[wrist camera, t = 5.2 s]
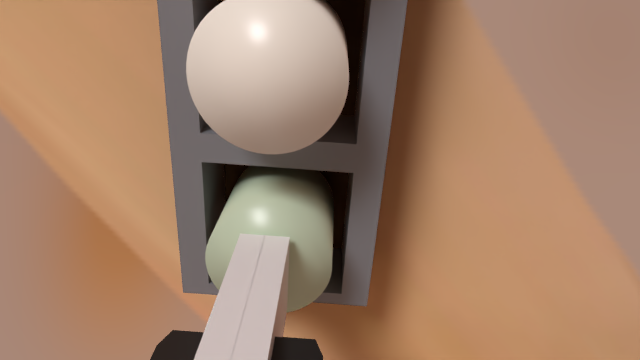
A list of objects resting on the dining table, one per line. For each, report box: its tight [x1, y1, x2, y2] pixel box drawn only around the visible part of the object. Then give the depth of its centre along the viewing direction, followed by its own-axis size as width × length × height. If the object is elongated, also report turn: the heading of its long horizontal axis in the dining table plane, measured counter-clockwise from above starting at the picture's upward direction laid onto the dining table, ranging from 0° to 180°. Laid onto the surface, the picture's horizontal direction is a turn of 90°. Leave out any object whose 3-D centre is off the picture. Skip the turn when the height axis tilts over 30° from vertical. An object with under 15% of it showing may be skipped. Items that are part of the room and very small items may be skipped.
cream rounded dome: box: [186, 0, 349, 154], centre depth 13 cm, size 4×4×4 cm
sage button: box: [205, 166, 334, 312], centre depth 16 cm, size 4×4×4 cm
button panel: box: [157, 0, 408, 306], centre depth 15 cm, size 18×7×3 cm, turn 176°
